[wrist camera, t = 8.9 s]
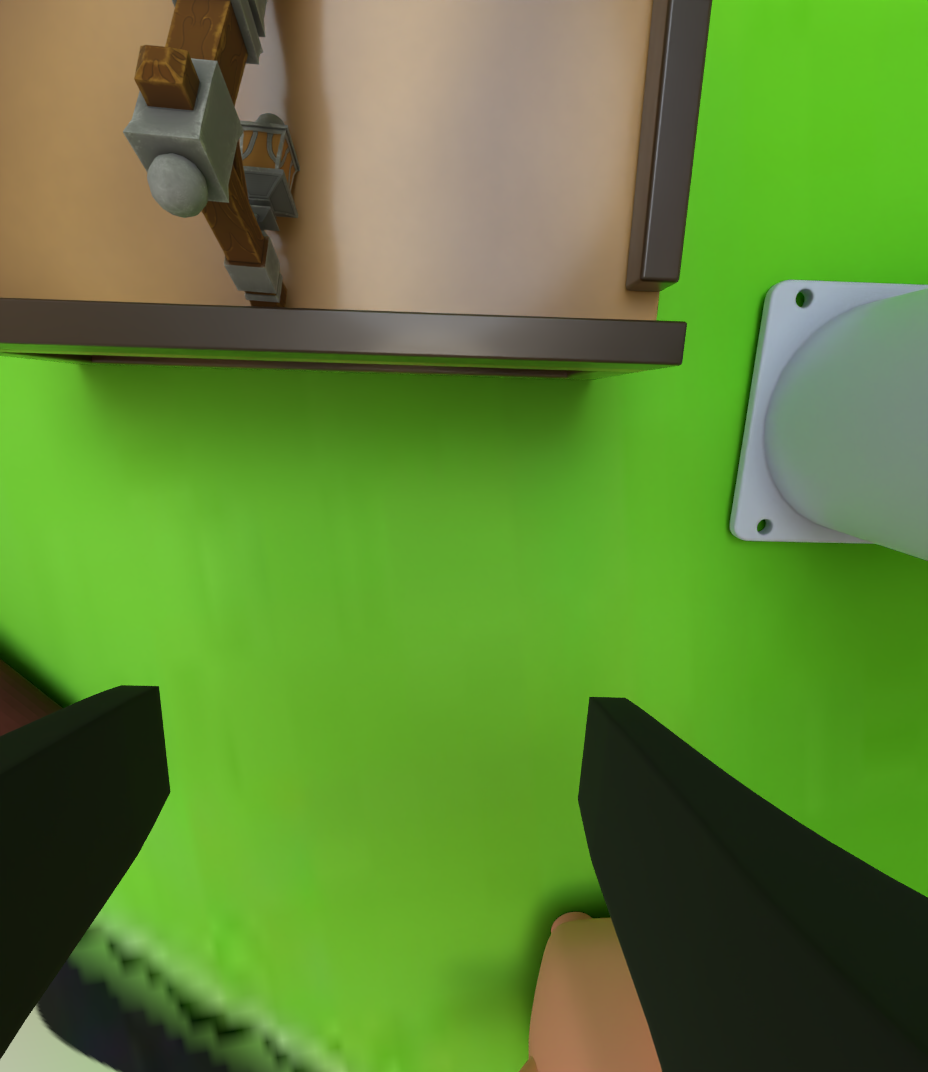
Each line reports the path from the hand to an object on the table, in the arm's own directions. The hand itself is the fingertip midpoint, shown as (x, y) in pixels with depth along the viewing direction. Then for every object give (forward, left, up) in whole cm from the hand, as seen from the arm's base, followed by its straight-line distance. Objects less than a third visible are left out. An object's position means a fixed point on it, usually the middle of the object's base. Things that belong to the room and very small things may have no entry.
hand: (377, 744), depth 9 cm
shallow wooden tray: (+2, -11, -10) cm, 15 cm away
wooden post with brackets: (+2, -12, -5) cm, 13 cm away
